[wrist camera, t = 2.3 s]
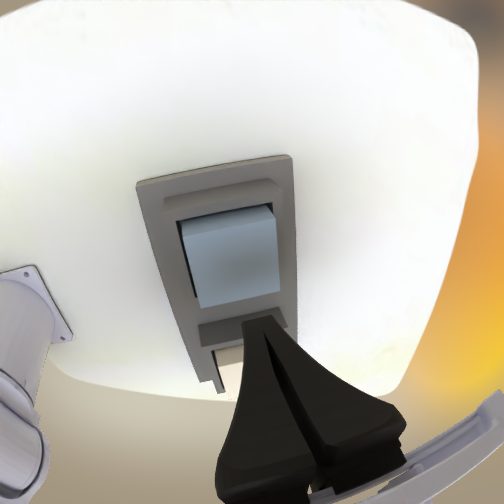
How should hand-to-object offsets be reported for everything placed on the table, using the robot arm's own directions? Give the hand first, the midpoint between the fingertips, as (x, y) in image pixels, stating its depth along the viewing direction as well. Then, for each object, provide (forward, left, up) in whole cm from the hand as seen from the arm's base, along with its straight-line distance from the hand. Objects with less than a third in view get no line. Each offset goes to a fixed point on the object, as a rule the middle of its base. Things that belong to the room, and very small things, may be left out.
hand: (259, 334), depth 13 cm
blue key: (0, 0, -7) cm, 7 cm away
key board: (0, -6, -10) cm, 12 cm away
